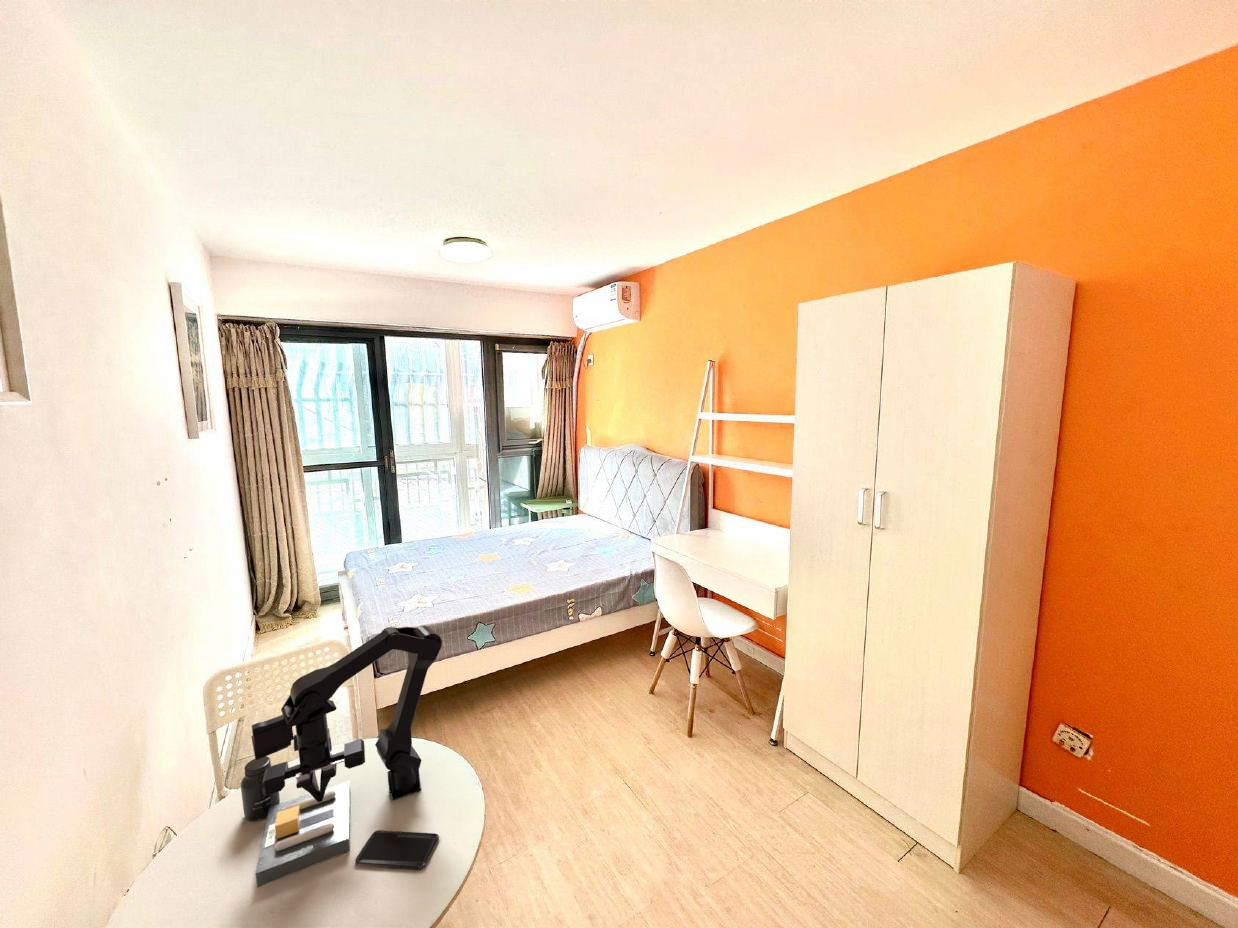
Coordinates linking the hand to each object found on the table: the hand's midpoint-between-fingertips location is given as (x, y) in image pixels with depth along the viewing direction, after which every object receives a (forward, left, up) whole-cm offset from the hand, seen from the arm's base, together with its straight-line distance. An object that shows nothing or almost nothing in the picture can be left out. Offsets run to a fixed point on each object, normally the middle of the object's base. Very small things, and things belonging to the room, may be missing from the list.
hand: (320, 800), depth 109 cm
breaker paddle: (+6, 0, -4) cm, 7 cm away
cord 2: (+3, -5, -4) cm, 7 cm away
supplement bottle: (+13, -13, -7) cm, 20 cm away
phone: (-14, +14, -8) cm, 21 cm away
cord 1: (+3, +5, -4) cm, 7 cm away
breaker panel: (+3, 0, -7) cm, 8 cm away
